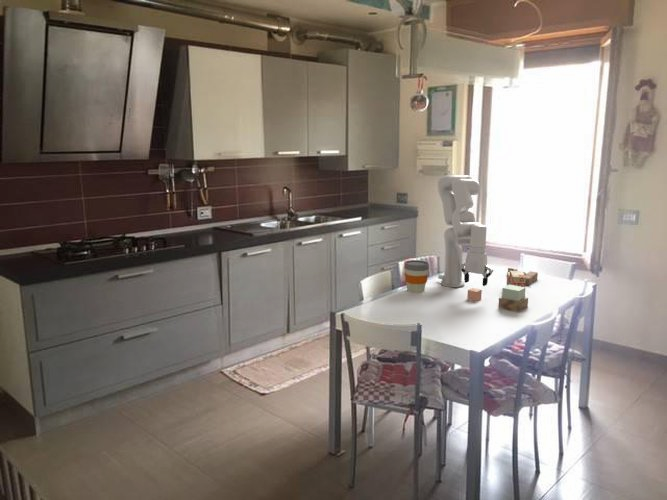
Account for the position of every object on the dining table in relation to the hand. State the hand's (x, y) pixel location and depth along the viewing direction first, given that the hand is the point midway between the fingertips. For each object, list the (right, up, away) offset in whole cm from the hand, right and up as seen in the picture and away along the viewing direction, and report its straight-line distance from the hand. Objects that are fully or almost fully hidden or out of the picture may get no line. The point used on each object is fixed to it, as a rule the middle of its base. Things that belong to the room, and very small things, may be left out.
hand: (475, 283), depth 270 cm
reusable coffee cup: (-27, -5, +17) cm, 32 cm away
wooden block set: (+34, -1, +39) cm, 52 cm away
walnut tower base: (+15, -11, -11) cm, 21 cm away
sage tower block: (+15, -6, -11) cm, 20 cm away
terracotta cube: (0, -8, +2) cm, 8 cm away
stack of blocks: (+23, -6, +11) cm, 26 cm away
